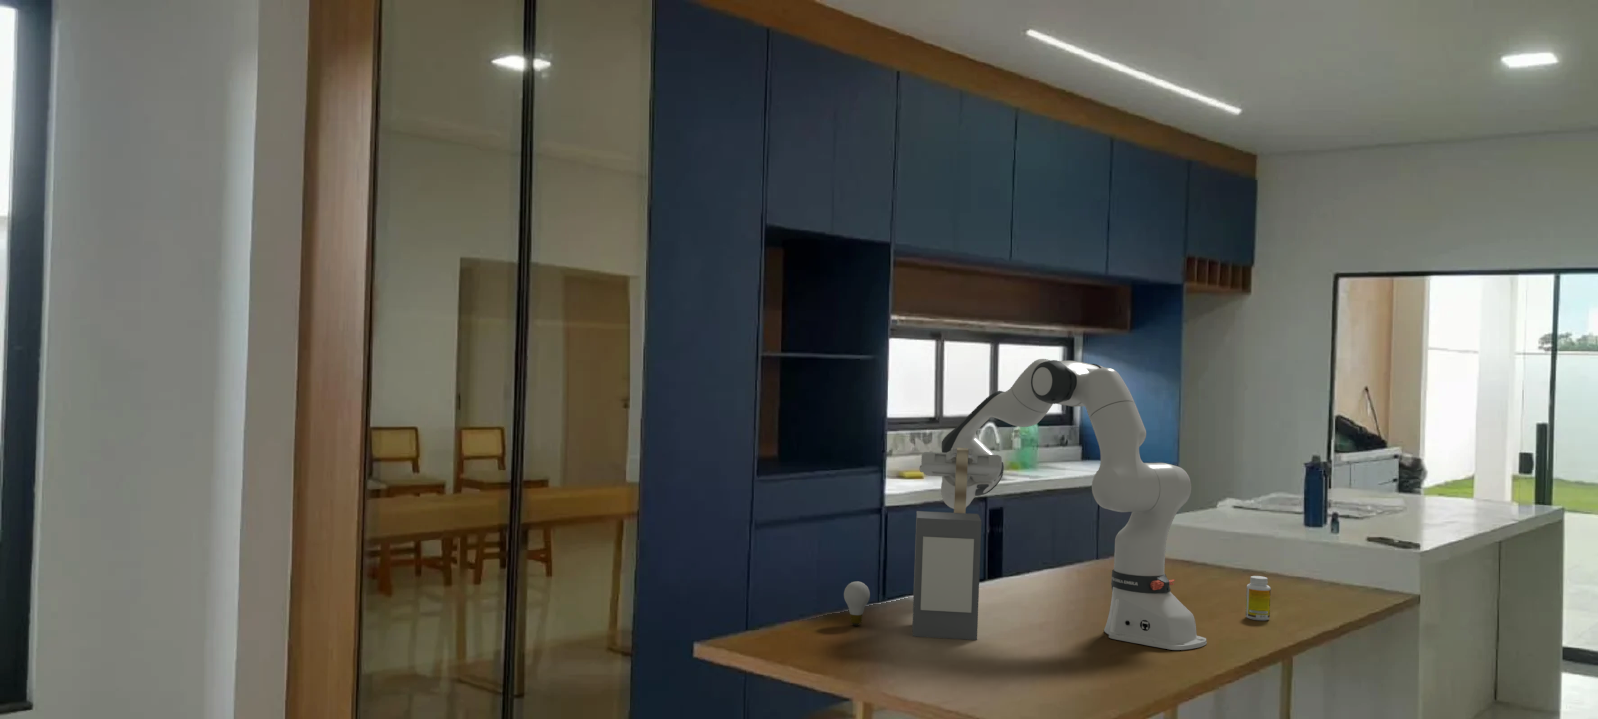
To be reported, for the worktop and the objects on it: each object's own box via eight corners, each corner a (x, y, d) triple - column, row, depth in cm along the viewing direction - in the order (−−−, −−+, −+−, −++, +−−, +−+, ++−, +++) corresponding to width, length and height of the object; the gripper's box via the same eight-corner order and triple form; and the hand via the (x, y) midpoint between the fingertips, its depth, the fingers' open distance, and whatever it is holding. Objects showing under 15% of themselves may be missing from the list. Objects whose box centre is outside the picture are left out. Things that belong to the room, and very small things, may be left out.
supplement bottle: (1273, 621, 293) (1275, 579, 293) (1251, 620, 293) (1252, 579, 293) (1263, 616, 299) (1265, 575, 299) (1241, 615, 298) (1243, 574, 298)
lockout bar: (953, 447, 302) (953, 451, 298) (970, 448, 302) (971, 452, 297) (949, 531, 306) (950, 536, 301) (967, 532, 305) (968, 537, 301)
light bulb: (866, 629, 268) (868, 584, 268) (840, 627, 270) (842, 582, 270) (870, 623, 274) (872, 580, 274) (845, 621, 275) (846, 578, 275)
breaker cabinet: (912, 624, 275) (916, 511, 275) (973, 627, 274) (978, 513, 274) (912, 636, 263) (917, 518, 263) (977, 640, 262) (981, 521, 262)
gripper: (919, 461, 313) (921, 438, 301) (998, 464, 311) (1003, 441, 299) (918, 483, 310) (920, 460, 298) (999, 487, 308) (1003, 464, 296)
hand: (962, 451), depth 299 cm, fingers closed on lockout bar, 3 cm apart
